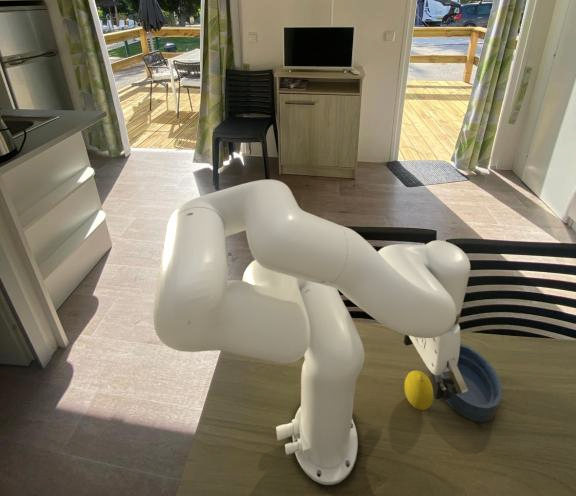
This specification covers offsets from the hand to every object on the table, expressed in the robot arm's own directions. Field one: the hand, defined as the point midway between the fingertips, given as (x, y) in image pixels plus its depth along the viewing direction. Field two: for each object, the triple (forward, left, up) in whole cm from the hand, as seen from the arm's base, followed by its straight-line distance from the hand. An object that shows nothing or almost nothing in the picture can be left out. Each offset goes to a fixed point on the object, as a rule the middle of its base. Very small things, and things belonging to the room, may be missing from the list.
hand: (425, 367), depth 60 cm
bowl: (+11, 0, -11) cm, 16 cm away
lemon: (-1, 0, -11) cm, 11 cm away
